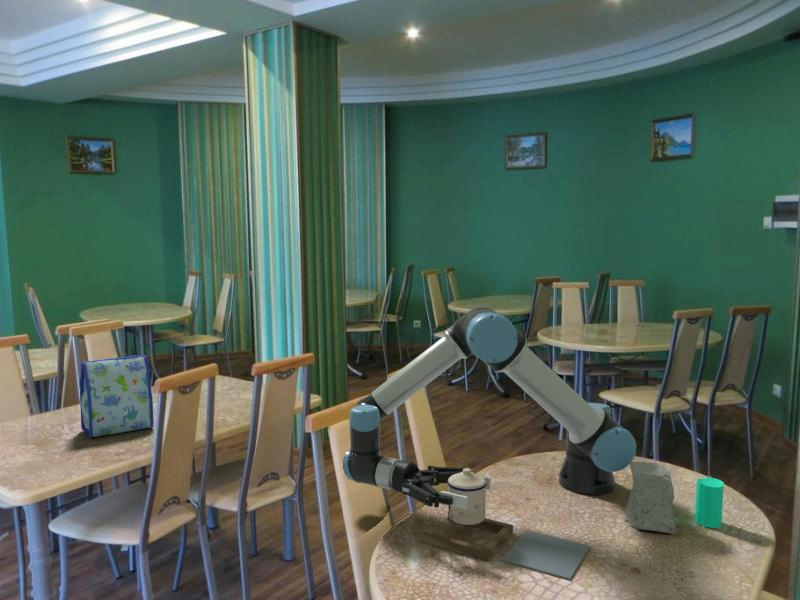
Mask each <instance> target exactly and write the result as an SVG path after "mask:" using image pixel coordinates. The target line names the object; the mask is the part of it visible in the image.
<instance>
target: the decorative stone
mask: <svg viewBox="0 0 800 600" xmlns="http://www.w3.org/2000/svg"><path fill="white" fill-rule="evenodd" d="M629 466H630V467H629V468H630V471H631V475H632V481H633V482H632V488H631V490H630V495H629V497H628V501H627V505H626V507H625V511H624V521H625V522H626V523H628V524H629V526H630V527H633V528H634V529H636V530H639V531H650V532H651V531H652V532H653V531H654V532H655V533H663V534H668V535H674V534H676V523H675V519H674V512H673V510H674V504H673V503H674V499H675V494H674V493H675V492H674V489H675V488H674V484H673V481H672V475H671V471H670V470H668V469H667V468H666V467H665V466H663V465H661V464H658V463H657V462H650V461H648V462H646V461H631V462H630V464H629Z"/></svg>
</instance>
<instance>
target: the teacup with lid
mask: <svg viewBox="0 0 800 600" xmlns="http://www.w3.org/2000/svg"><path fill="white" fill-rule="evenodd" d="M464 468H465V469H463V472H461V473H457V474H454V475H452V476H450V477H449V479H448V482H447V483H446V484H447V485H448V492H450V493H454V494H458V495H463V496H467V497H468V509H467V510H466V509H462V508H457V507H453V506H449V505H448V511H449V518H450V519H451V520H450V521H452V522H454V523H455V524H457V525H458V524H459V525H463V526H471V525H474V524H478V523H481V522H482V521H483V520H484V519H485V518H486V502H487V501H486V497H487V495H486V493H487V491H486V490H487V489H486V485H487V482H486V480H485V478H484V477H482V476H483V475H481V474H477V473H474V472H472V470H471V468H469V467H464Z"/></svg>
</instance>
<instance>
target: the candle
mask: <svg viewBox="0 0 800 600" xmlns="http://www.w3.org/2000/svg"><path fill="white" fill-rule="evenodd" d="M696 479H697V480H696V486H695V487H696V492H695V511H694V522H695V521H696V522H697V523H698V524H700V525H702V526H704V527H703V528H705V527H709V528H708V529H710V528H717V529H719V528H718V527H720V526H721V527H722V525H721V524H722V523H723V505H724V504H723V503H724V488H725V487H724V486H725V482H724V481H722V480H721V479H718V478H714V477H712V475H709V477H708V476H707V477H704V478H696ZM696 522H695V523H696ZM697 523H696V524H697ZM698 524H697V525H698ZM700 525H699V526H700ZM702 526H701V527H702ZM721 527H720V528H721Z"/></svg>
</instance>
